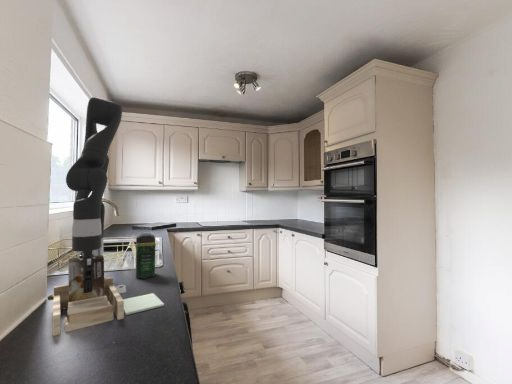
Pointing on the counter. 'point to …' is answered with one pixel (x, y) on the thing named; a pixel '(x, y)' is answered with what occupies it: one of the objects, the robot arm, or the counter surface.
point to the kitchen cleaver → (119, 288)
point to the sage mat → (141, 303)
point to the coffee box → (77, 279)
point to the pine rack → (63, 299)
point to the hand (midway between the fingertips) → (86, 288)
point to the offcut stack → (88, 313)
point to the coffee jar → (145, 255)
